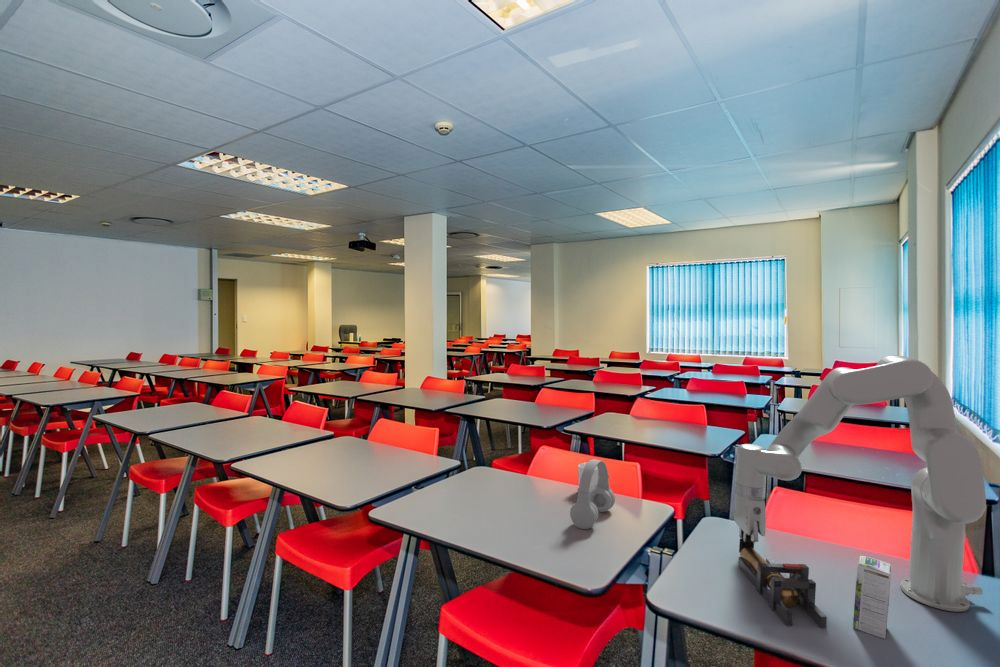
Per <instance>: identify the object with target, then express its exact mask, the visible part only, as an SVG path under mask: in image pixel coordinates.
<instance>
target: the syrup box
mask: <svg viewBox="0 0 1000 667" xmlns="http://www.w3.org/2000/svg"><path fill="white" fill-rule="evenodd" d="M891 576H892V564H890V563H889V562H886V561H883V560H880V559H877V558H873V557H869V556H867V555H866V556H864V555H859V559H858V565H857V573H856V581H855V591H854V604H853V605H854V606H853V621H852V628H853V629H855V630H857V631H860V632H863V633H867V634H869V635H872V636H874V637H875V636H876V637H878V638H882V639H884V640H885V639H886V637H887V630H888V629H887V627H888V615H889V606H890V605H889V604H890V603H889V602H890V591H891V590H890V589H891V579H892V578H891Z"/></svg>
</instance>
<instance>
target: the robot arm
mask: <svg viewBox="0 0 1000 667" xmlns="http://www.w3.org/2000/svg"><path fill="white" fill-rule="evenodd" d="M899 399H903V401H904V402H905V405H906V406H905V407H906V410H907V415H908V423H909V430H910V443H911V444H910V445H911V449H912V451H913V452H914V454H915V455H916V456H917V457H918V458H919V459H920V460H922V461H923V462H925V463H926V467H923V468H921V469H919V470H918V471H916V473H915V474H914V475H913V477H912V478H911V483H910V484H911V487H910V488H911V502H912V522H911V523H912V526H911V534H910V538H911V539H910V552H909V553H910V554H909V566H908V569H909V570H908V577H907V578H904V579H901V581H900V583H899V588H900V590H901V591H902V592H904V594H906V596H909V597H910V598H912V599H913V600H915V601H917V602H919V603H921V604H923V605H926V606H929V607H932V608H934V609H935V608H936V609H938V610H941V611H942V610H943V611H948V612H955V613H956V612H957V613H958V612H959V613H960V612H967V611H968V610H969V609H970V601H969V600H968V598H967V597H966V596H969V595H974V596H976V595H977V596H980V595H981V596H982V595H983V594H984V593H983V592H984V591H983V588H982V587H981V586H979V585H968V584H967V582H966V581H965V580H963V569H964V568H963V566H964V554H965V552H964V551H965V541H966V525H967V524H971V523H974V522H976V521H978V520H979V519H980V518H982V516H983V514H984V513H985V510H986V507H987V497H986V496H987V494H986V486H985V479H984V478H985V477H984V470H983V469H984V468H983V464H982V458H981V455H980V453H979V450H978V448H977V446H976V445H975V443H974V442H972V440H970V439H969V438H968V437H967V436H965V435H963V434H961V433H960V432H959V430H958V426H957V421H956V415H955V410H954V404H953V400H952V398H951V394H950V392H949V390H948V388H947V387H946V385H945V384H944V382H943V381H942V380H941V379H940V378H939V376H938V375H937V374H935V373H934V372H933V371H932V370H931V368H930V367H929V366H928V365H927V364H926V363H924V362H923V361H921V360H918V359H915V358H910V357H907V356H903V355H888V356H885V357H883V358H881V359H880V360H879V361H877V363H876V365H875V366H869V367H866V368H858V369H853V368H850V367H843V366H841V367H836V368H833V369H832V370H831V371H830V372H829V373H827V375H825V377H824V379H823V380H822V381H821V383H820V384H819V385H818V386H817V388H816V389H815V391H814V392H813V393H812V395H811V396H810V397H809V399H808V400H807V401H806V402H805V404H804V405H803V406H802V407H801V408H800V410H799V411H798V412H797V413H796V414H795V415H794V416H793V417H792V418H791V419H790V420H789V421H788V422H787V423H786V425H784V427H783V428H782V429H781V430H780V431H779V433H778V434H777V435H776V436H775V438H774V439H773V441H772V442H771V443H770V444H769V446H768V448H767V449H766V448H765V447H763V446H761V445H758V444H752V443H744V444H743V443H742V444H740V445H738V446H737V450H736V461H735V462H736V466H735V482H734V483H735V484H734V493H735V498H734V499H735V500H734V506H733V521H734V522H735V524H736V525H737V526H738V528H739V530H738V531H739V532H738V533H739V536H738V537H739V545H738V546H739V548H738V552H739V553H740V552H741V550H742V549H743V548H745V547H751V548H753V549H754V550H755V543H758V542H759V535H760V536H761V537H765V535H766V528H767V526H766V524H767V522H766V519H767V518H766V516H767V515H766V503H765V502H766V501H765V499H766V489H767V488H766V487H767V486H766V484H767V477H771V478H774V479H778V480H781V481H787V482H788V481H793V480H796V479H797V478H799V476H800V475H801V474H802V463H801V462H800V459H799V457H800V456H801V455H802V454H803V453H804V451H805V450H806V448H808V446H809V445H810V444H811V443H812V442H814V441H815V440H817V438H819V437H821V436H824V435H827V434H829V433H831V432H833V431H834V430H835V428H837V426H838V425H839V424H840V422H841V421H842V419H843V418H844V417H845V415H846V414H847V413H848V412H849V410H850V409H851V408H852V407H854V406H863V405H869V404H877V403H883V402H888V401H892V400H894V401H895V400H899Z"/></svg>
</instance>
